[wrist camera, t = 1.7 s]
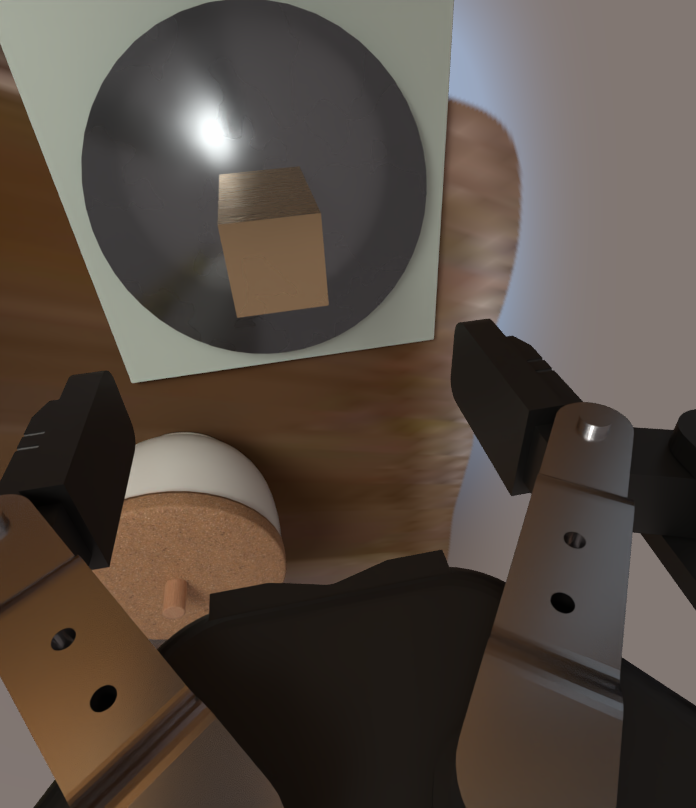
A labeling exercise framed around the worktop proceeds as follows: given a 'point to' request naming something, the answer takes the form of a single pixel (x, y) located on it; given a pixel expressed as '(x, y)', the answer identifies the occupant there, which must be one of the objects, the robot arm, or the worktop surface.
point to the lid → (254, 176)
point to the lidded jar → (190, 532)
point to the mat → (76, 91)
